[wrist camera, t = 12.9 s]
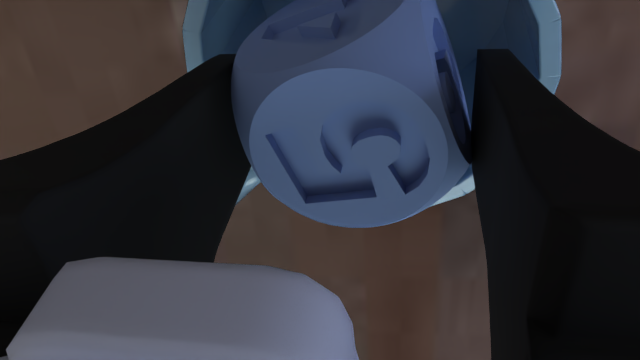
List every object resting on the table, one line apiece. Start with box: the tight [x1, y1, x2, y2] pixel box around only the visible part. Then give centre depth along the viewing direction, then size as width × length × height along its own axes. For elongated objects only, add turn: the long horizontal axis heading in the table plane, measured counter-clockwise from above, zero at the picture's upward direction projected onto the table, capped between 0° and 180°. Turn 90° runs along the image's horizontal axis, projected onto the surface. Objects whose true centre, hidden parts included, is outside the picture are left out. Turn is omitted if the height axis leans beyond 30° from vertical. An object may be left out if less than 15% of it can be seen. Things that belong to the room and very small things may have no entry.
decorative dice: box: [231, 0, 473, 228], centre depth 12 cm, size 4×4×4 cm
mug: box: [182, 0, 562, 207], centre depth 16 cm, size 11×8×6 cm
